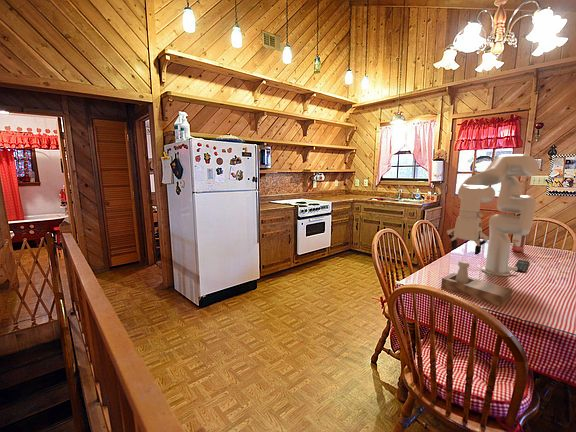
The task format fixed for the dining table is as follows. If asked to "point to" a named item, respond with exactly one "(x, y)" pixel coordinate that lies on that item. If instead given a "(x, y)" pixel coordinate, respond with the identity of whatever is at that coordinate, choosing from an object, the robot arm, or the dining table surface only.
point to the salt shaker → (462, 272)
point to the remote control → (522, 266)
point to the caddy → (479, 290)
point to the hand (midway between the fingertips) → (465, 251)
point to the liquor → (518, 243)
